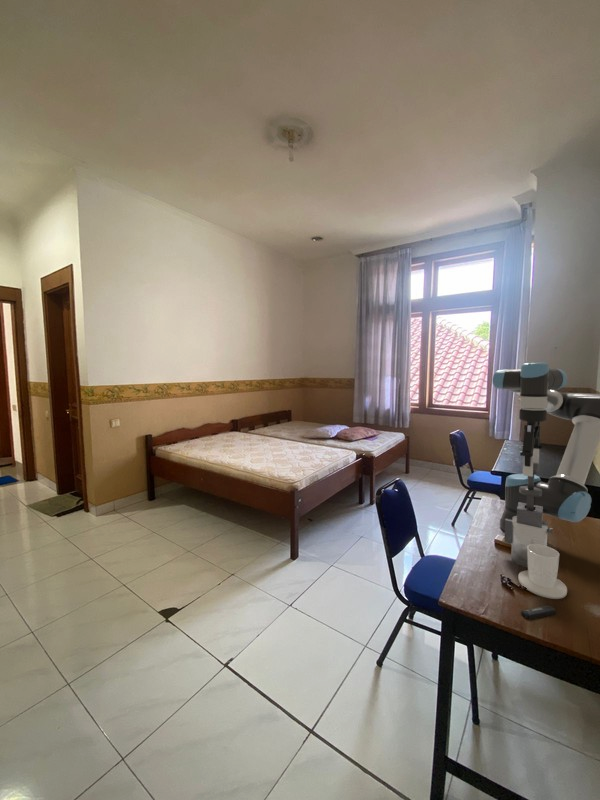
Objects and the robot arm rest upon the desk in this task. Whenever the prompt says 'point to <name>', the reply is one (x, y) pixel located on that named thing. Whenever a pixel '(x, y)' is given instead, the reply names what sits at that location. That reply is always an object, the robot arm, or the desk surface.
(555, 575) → the white cup
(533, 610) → the usb stick
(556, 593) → the saucer
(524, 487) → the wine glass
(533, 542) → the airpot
